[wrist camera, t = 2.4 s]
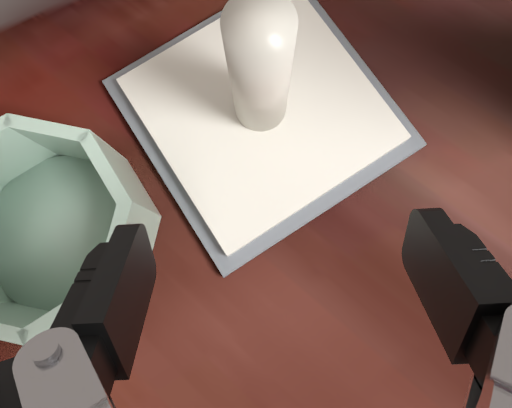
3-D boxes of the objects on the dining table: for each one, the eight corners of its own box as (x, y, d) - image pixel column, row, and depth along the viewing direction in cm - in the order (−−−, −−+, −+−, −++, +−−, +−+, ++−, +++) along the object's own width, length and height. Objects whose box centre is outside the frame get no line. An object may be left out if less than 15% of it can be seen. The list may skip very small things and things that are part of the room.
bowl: (103, 121, 28) (60, 81, 22) (187, 258, 26) (164, 255, 20) (-42, 208, 27) (-129, 191, 21) (33, 357, 25) (-38, 385, 19)
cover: (289, -16, 29) (302, -165, 19) (407, 140, 26) (493, 64, 16) (120, 84, 27) (40, -18, 18) (228, 256, 25) (205, 249, 15)
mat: (291, -26, 29) (292, -32, 29) (423, 146, 27) (427, 144, 26) (105, 85, 28) (101, 81, 28) (224, 277, 26) (223, 277, 25)
